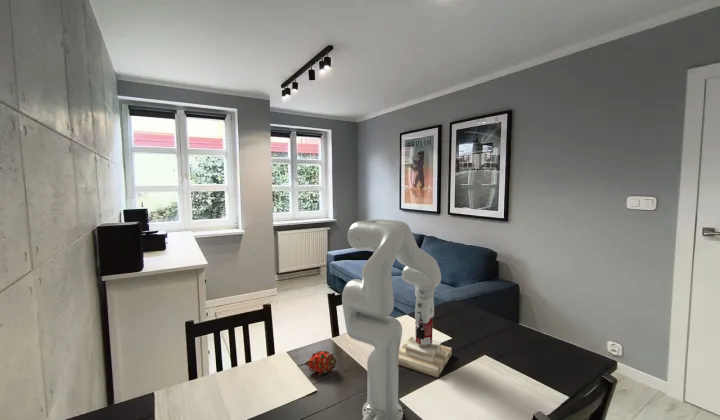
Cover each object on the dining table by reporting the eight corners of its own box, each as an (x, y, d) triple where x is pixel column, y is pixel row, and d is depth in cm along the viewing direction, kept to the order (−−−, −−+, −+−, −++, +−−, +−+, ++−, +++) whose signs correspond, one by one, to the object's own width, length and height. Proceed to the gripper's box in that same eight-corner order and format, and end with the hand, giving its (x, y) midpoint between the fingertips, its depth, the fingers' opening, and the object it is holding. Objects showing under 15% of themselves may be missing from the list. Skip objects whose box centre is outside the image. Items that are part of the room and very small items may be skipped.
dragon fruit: (339, 376, 119) (307, 381, 119) (337, 354, 125) (307, 359, 125) (335, 367, 113) (302, 372, 113) (334, 344, 120) (303, 349, 120)
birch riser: (437, 377, 116) (438, 362, 115) (393, 362, 125) (393, 348, 125) (451, 354, 131) (451, 341, 131) (411, 343, 141) (411, 330, 140)
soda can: (432, 348, 124) (433, 318, 123) (414, 346, 125) (415, 317, 124) (431, 339, 130) (432, 311, 129) (415, 338, 131) (416, 310, 130)
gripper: (426, 300, 116) (425, 346, 118) (440, 287, 131) (439, 328, 133) (407, 296, 120) (406, 341, 122) (423, 284, 135) (422, 324, 137)
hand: (423, 334), depth 127 cm, fingers open, 6 cm apart
